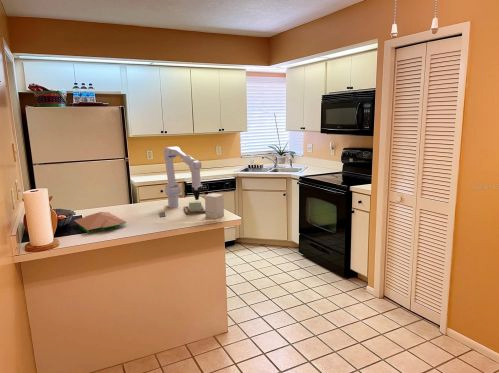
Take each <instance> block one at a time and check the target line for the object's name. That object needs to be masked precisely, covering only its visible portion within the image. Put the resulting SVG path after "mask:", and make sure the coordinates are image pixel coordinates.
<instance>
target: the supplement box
mask: <svg viewBox="0 0 499 373" xmlns="http://www.w3.org/2000/svg"><path fill="white" fill-rule="evenodd" d="M224 198H225V197H224V194H222V193H214V192H212V193H209V194H206V195H204V209H205V213H204V214H205V217H206V218H211V219H214V220H217V219H218V218H221V217H223V216H225V209H224V208H225V207H224V206H225V204H224V202H225V201H224V200H225V199H224Z"/></svg>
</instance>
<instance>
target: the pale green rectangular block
mask: <svg viewBox="0 0 499 373" xmlns="http://www.w3.org/2000/svg"><path fill="white" fill-rule="evenodd" d="M201 205H202V201H201V200H195V201H188V206H189V212H193V211H202V208H201Z"/></svg>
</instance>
